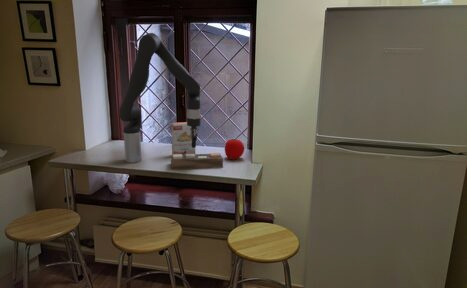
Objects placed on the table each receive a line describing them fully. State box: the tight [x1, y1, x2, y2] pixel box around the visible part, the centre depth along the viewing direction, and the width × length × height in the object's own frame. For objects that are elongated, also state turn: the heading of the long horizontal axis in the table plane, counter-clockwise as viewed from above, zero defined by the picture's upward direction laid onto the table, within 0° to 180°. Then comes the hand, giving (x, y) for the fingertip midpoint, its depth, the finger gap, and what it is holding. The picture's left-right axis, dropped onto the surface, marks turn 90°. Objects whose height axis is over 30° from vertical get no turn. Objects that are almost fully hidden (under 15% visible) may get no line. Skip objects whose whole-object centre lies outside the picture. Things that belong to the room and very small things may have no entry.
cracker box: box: [171, 121, 196, 155], centre depth 208 cm, size 14×6×21 cm, turn 112°
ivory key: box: [173, 154, 182, 159], centre depth 187 cm, size 5×5×3 cm
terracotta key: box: [209, 152, 220, 158], centre depth 191 cm, size 5×5×3 cm
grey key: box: [186, 153, 196, 159], centre depth 188 cm, size 5×5×3 cm
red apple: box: [224, 138, 245, 160], centre depth 203 cm, size 12×12×13 cm
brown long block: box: [170, 152, 224, 170], centre depth 189 cm, size 11×29×5 cm, turn 101°
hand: (193, 147), depth 188 cm, fingers closed
